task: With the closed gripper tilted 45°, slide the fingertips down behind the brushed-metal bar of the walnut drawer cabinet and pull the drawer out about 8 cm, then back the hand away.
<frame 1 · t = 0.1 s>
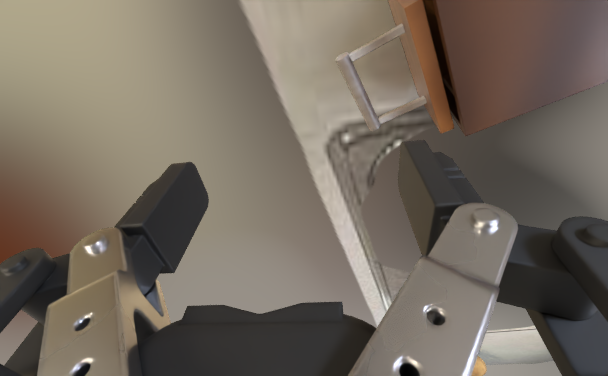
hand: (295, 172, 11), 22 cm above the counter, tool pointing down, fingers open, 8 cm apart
drawer: (458, 38, 23), point 5 cm above the counter, slide at 0.5 cm
potato: (457, 350, 98), on the counter
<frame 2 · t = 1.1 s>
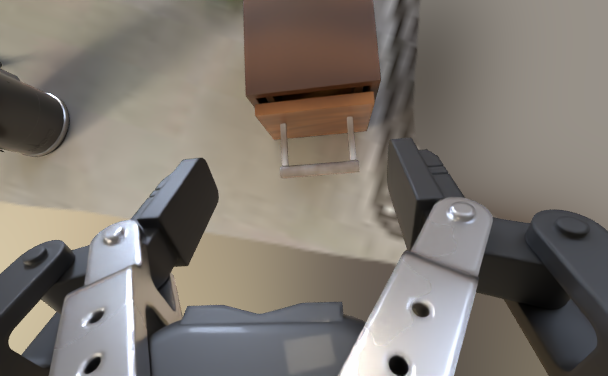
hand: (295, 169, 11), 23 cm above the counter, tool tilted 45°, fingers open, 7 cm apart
drawer: (314, 90, 31), point 5 cm above the counter, slide at 0.5 cm
cabinet: (315, 71, 36), on the counter
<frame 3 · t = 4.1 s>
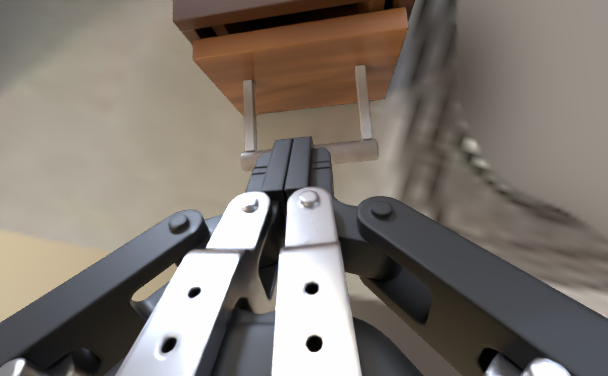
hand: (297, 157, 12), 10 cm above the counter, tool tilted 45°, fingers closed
drawer: (301, 30, 19), point 5 cm above the counter, slide at 0.5 cm
cabinet: (305, 15, 24), on the counter
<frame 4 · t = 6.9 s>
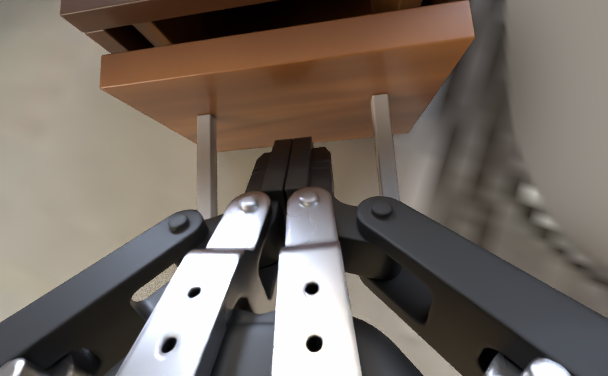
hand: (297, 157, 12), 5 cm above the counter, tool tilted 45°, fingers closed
drawer: (289, 36, 13), point 5 cm above the counter, slide at 0.8 cm, touching gripper
cabinet: (299, 11, 18), on the counter
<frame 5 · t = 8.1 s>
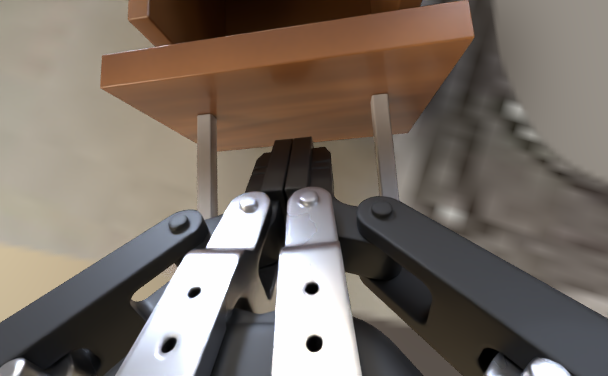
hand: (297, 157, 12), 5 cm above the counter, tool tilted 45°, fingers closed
drawer: (289, 36, 13), point 5 cm above the counter, slide at 5.5 cm, touching gripper
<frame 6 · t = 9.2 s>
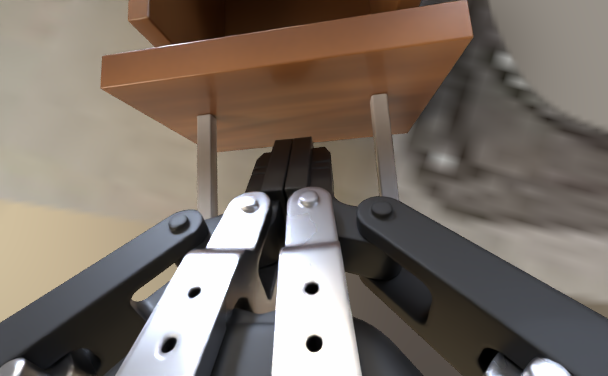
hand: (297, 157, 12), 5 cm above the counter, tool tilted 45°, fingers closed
drawer: (288, 37, 13), point 5 cm above the counter, slide at 8.6 cm, touching gripper
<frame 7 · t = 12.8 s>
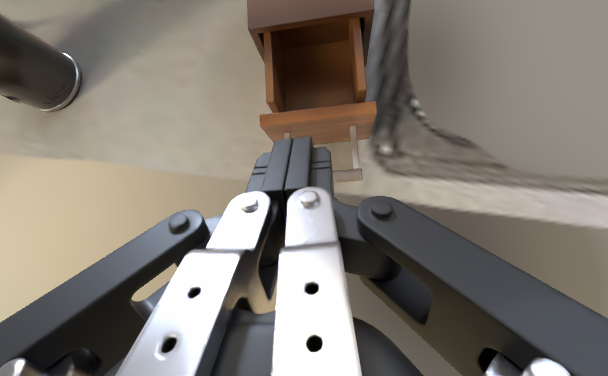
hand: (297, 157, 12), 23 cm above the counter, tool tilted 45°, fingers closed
drawer: (317, 100, 31), point 5 cm above the counter, slide at 8.8 cm
cabinet: (314, 23, 38), on the counter
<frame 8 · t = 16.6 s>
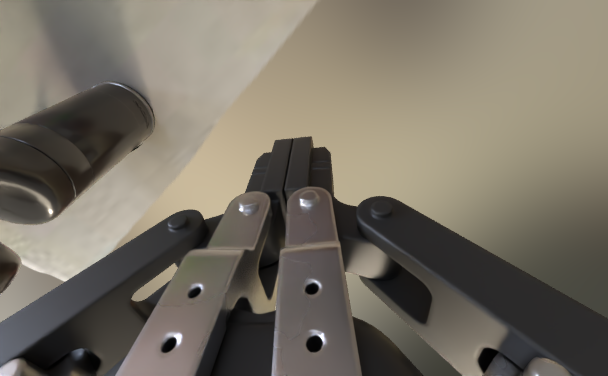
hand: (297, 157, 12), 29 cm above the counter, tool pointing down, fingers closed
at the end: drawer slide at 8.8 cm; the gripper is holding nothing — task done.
